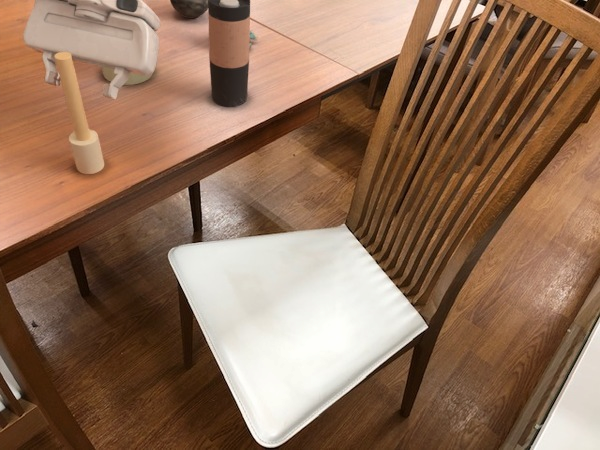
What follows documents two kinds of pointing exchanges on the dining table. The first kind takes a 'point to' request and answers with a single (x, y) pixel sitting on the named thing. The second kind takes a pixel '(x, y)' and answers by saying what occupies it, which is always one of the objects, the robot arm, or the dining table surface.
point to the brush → (79, 120)
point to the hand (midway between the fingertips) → (80, 90)
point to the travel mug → (229, 50)
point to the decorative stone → (190, 7)
